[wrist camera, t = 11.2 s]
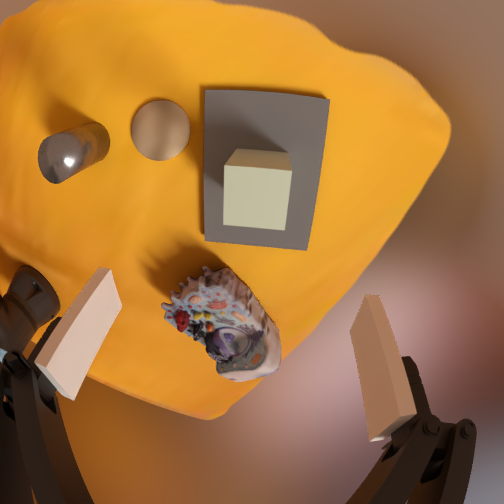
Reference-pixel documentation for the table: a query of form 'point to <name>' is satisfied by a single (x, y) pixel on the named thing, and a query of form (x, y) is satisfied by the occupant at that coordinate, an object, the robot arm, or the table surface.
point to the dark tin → (72, 151)
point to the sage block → (257, 189)
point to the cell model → (227, 324)
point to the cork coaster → (161, 130)
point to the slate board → (269, 139)
